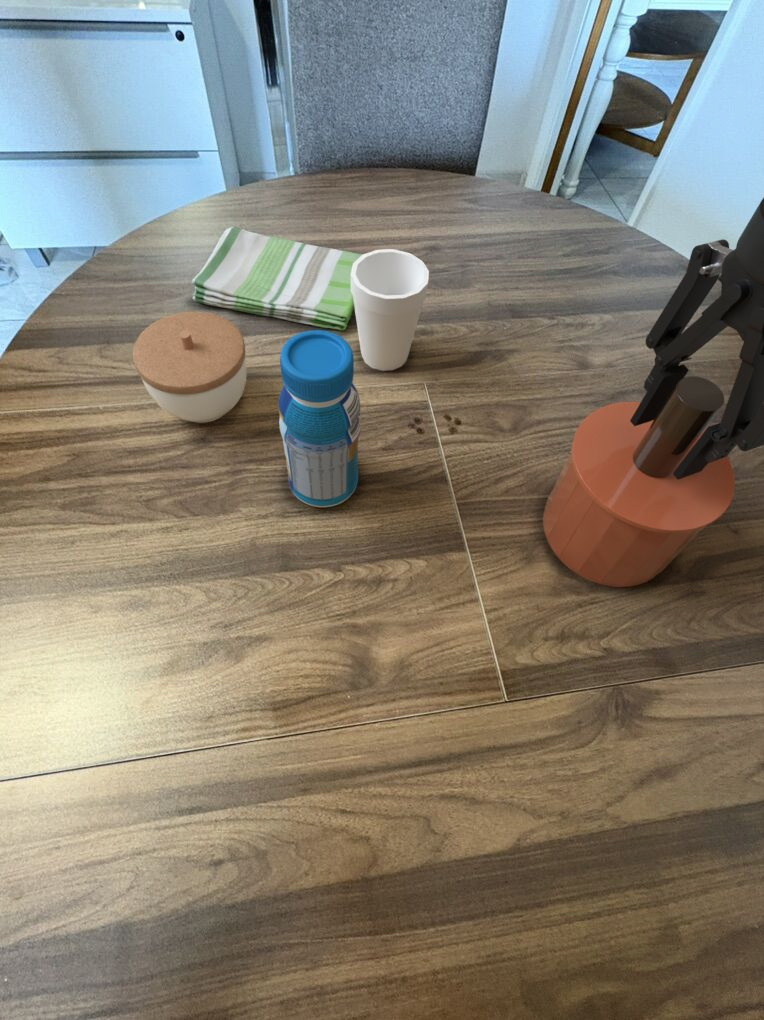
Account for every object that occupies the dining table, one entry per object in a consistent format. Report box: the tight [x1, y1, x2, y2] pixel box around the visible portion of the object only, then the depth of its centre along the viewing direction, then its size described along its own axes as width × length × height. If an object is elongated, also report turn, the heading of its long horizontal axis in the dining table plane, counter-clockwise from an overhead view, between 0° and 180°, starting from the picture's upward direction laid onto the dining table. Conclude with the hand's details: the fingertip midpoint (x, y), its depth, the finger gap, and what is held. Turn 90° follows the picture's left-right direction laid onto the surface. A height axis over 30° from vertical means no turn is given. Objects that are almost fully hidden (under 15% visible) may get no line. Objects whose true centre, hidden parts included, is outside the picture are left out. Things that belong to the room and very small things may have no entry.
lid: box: [570, 375, 736, 534], centre depth 56 cm, size 16×16×11 cm
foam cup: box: [351, 248, 430, 372], centre depth 79 cm, size 10×9×13 cm
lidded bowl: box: [132, 311, 248, 424], centre depth 74 cm, size 13×13×11 cm
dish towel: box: [191, 226, 363, 331], centre depth 90 cm, size 17×23×4 cm
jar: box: [542, 452, 704, 588], centre depth 65 cm, size 15×15×12 cm
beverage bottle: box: [277, 329, 362, 508], centre depth 64 cm, size 8×8×20 cm
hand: (664, 445), depth 58 cm, fingers open, 6 cm apart
